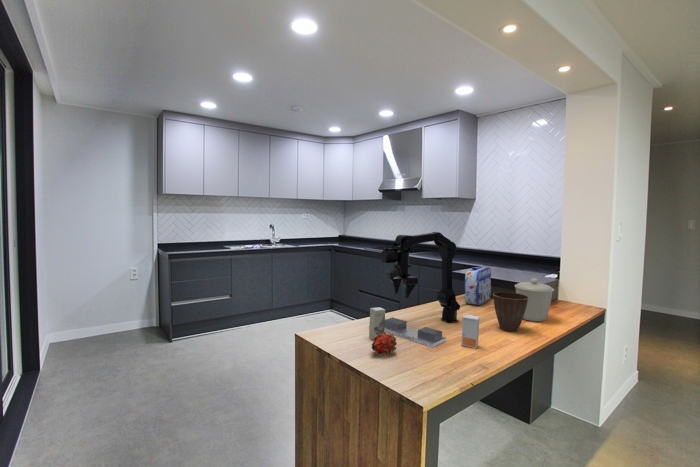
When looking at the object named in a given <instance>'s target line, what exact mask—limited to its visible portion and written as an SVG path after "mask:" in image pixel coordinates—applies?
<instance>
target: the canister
mask: <svg viewBox="0 0 700 467" xmlns="http://www.w3.org/2000/svg"><path fill="white" fill-rule="evenodd" d="M514 288H515V293H518V294H523V295H526V296H527V297H528V302H527V306H526V310H525V314H524V317H523V319H522V320H525V321H530V322H544V321H546V320H547V319H548V316H549V313H550V312H549V311H550V307H551V302H552V297H553V292H554V291H555V289H554V288H553V287H551V286H550V285H548V284H544V283H540V282H539V280H538V279H537V278H535V277H533V278H531V279H530V280H529V281H523V282H518V283H517V284H516V283H515V284H514Z"/></svg>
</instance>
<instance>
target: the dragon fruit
mask: <svg viewBox="0 0 700 467" xmlns="http://www.w3.org/2000/svg"><path fill="white" fill-rule="evenodd" d="M397 345H398V344H397V337H396V336H395V335H393V334H390V333H387V332H384V334H379V335H378V336H377V337H375V338H374V339H373V340H372V344H371V346H370V347H371V349H372V351H375V352H374V355H379V356H381V355H382V354H385V355H386V356H389V355H390V354H391V352H392V351H396V350H397Z"/></svg>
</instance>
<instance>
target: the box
mask: <svg viewBox="0 0 700 467" xmlns="http://www.w3.org/2000/svg"><path fill="white" fill-rule="evenodd" d="M369 311H370V312H369V332H368V338H369V339H371V341H373V339H374V338H375V337H377V336H378V335H379V334H384V329H385V320H386V309H384V308H382V307H370V310H369Z"/></svg>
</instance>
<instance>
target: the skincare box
mask: <svg viewBox="0 0 700 467" xmlns="http://www.w3.org/2000/svg"><path fill="white" fill-rule="evenodd" d="M461 330H462V331H461V346H462V347H467V348H473V349H477V348H478V346H479V338H480V337H479V333H480V331H479V330H480V316H475V315H471V314H470V315H469V314H463V316H462V329H461Z"/></svg>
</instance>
